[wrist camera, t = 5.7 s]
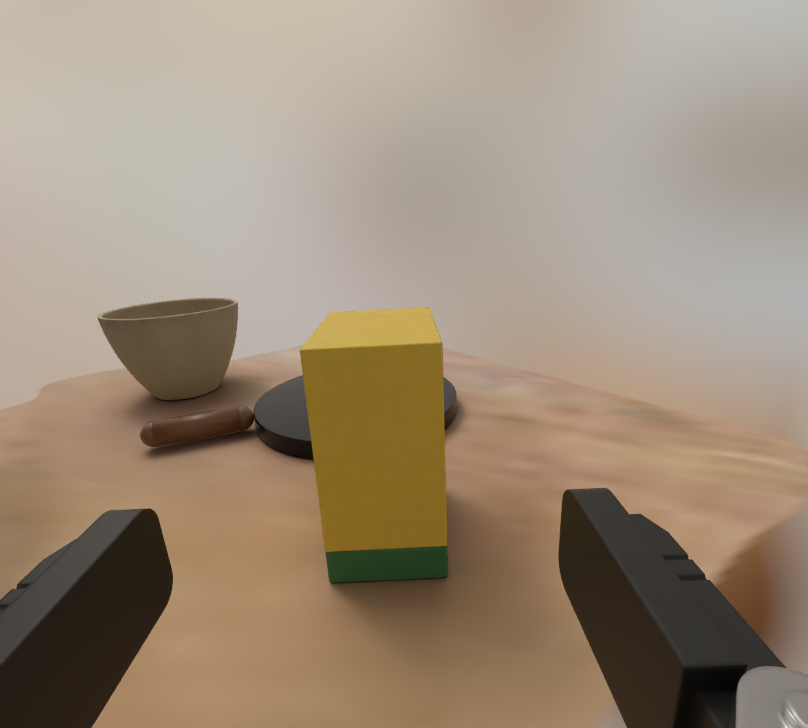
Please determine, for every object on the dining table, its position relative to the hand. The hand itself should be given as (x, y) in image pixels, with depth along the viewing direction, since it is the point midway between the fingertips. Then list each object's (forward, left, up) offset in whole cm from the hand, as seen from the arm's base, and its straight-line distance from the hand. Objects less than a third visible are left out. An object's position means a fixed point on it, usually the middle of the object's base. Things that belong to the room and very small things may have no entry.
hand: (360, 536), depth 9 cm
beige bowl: (-7, +32, -7) cm, 34 cm away
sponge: (+3, +8, -7) cm, 11 cm away
